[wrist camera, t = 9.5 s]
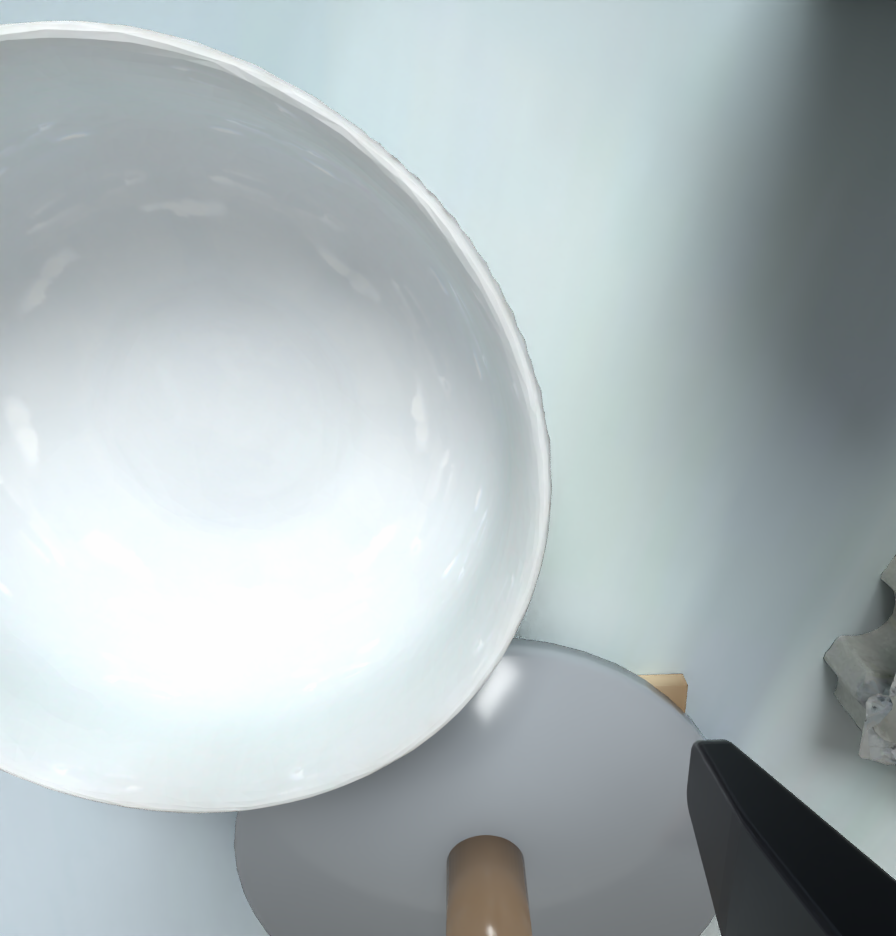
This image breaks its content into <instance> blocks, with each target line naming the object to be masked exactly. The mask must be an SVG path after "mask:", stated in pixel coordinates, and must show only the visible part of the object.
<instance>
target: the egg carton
mask: <svg viewBox="0 0 896 936" xmlns="http://www.w3.org/2000/svg"><path fill="white" fill-rule="evenodd" d="M881 580H883V581H884V582H885V583H886V584H887V585H888V586H890V587H891V589H892V590H893V592H894V595H895V607H894V610H893V612H892V615H891V616H890V618H889V619H888V620H887V621H886V622H885V623H884V624H883V625H882V626H880V627H879V628H878V629H876V630H873V631H871V632H868V633H866V634H862V635H856V636H839V637H838V638H837V639H836V640H835V641H834V643H833V644H832V646H831V648H830V649H829V650H828V651H827V652H826V653H825V656H824V660H825V661H826V662H827V664H828V665H829V666H830V667H831V669H832V670H833V671H834V672H835V673H836V675H837V676H838V684H837V687H836V690H835V692H834V695H835V696H836V698H837V699H838V701H839V703H840V704H841V705H842V707H843V708H844V709H845V710H846V712H847V713H848V714H849V715H850V716H851V717H852V719H853V720H854V722H855V723H856V725H857V726H858V727H859V728H860V730H861V731H862V738H861V743H860V749H859V754H858V755H859V756H860V757H861V758H863V759H868V760H873V761H876V762H880V763H883V764H886V765H893V764H895V765H896V555H895V556H894V558H893V559H892V560H891V561H890V563H889V564H888V566H887V568H886V569H885V570H884V572H883V573H882V574H881Z"/></svg>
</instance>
